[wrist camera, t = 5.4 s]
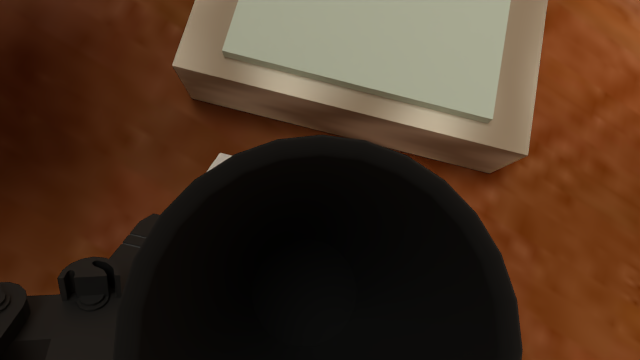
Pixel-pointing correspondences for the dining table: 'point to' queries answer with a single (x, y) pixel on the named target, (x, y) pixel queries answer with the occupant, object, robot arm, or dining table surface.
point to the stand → (376, 70)
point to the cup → (318, 264)
